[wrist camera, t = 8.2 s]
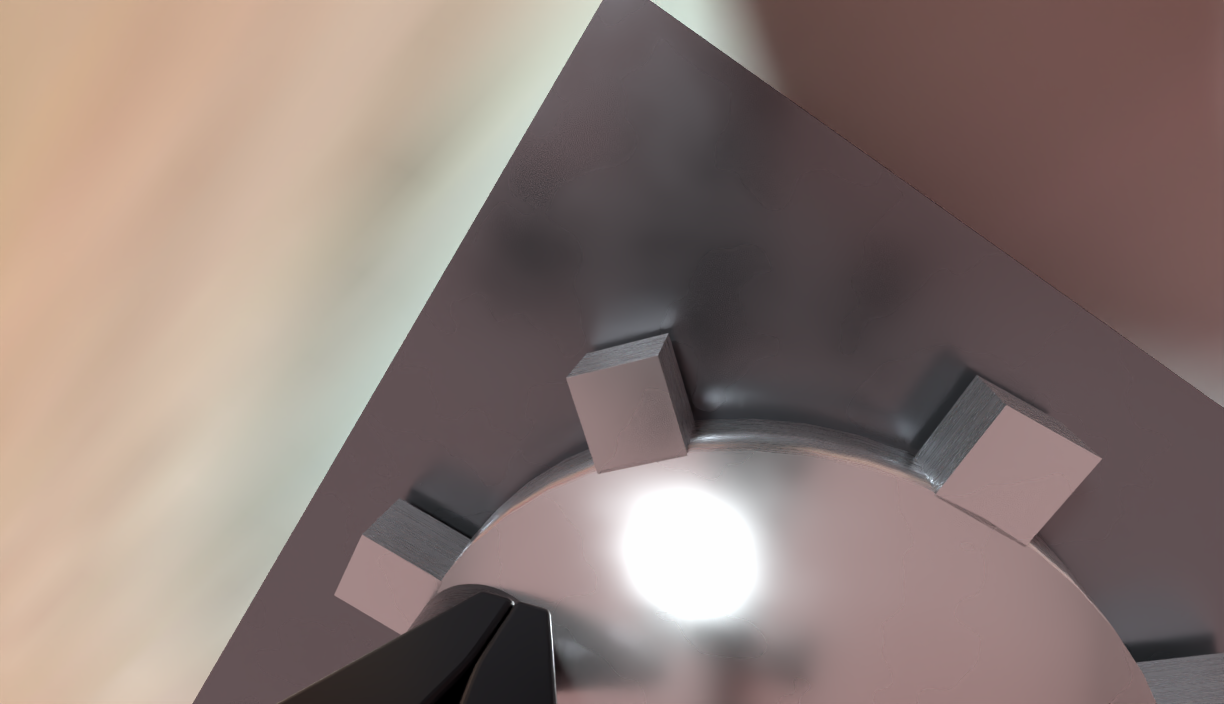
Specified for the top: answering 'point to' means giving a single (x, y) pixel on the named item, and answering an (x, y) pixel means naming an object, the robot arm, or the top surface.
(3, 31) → the top surface
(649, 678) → the sprocket
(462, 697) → the robot arm
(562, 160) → the index base
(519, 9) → the top surface
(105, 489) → the top surface
